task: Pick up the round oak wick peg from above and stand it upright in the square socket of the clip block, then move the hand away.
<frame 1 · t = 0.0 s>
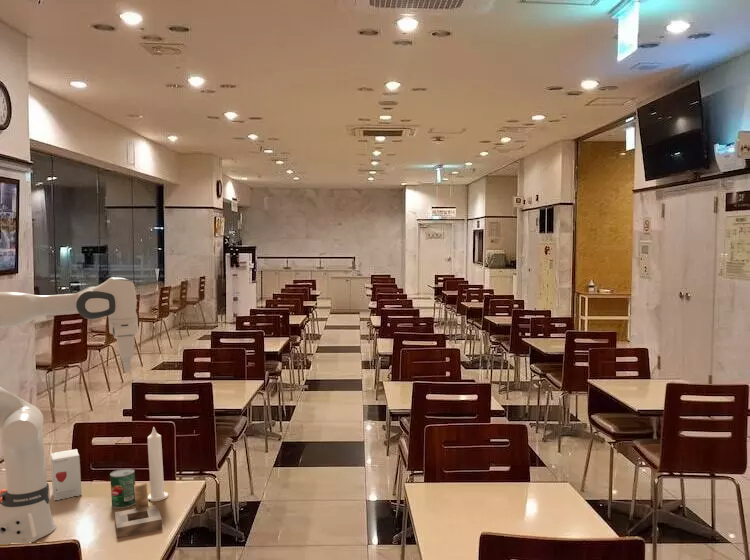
hand: (126, 369, 216), 48 cm above the table, tool pointing down, fingers open, 8 cm apart
supplement box: (67, 495, 237), on the table
canned tomato: (124, 504, 227), on the table
candle: (157, 497, 231), on the table
wick peg: (142, 511, 220), on the table
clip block: (138, 525, 209), on the table
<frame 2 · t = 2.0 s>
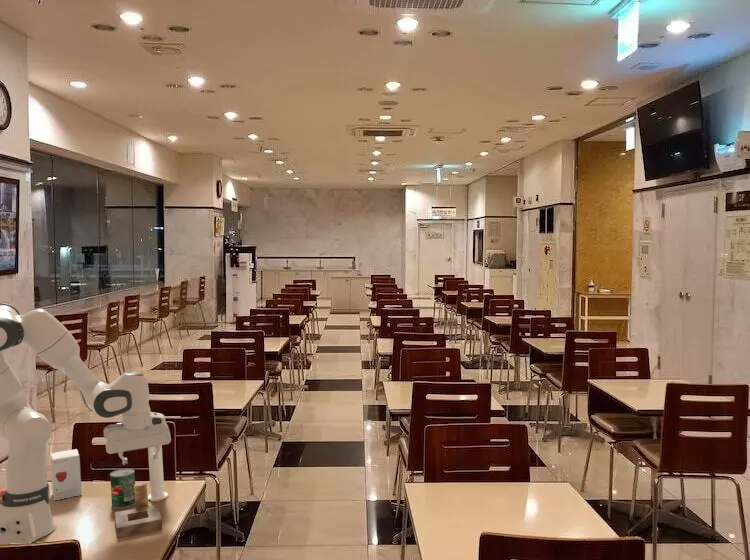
hand: (140, 461, 219), 17 cm above the table, tool pointing down, fingers open, 8 cm apart
nothing on the table moved.
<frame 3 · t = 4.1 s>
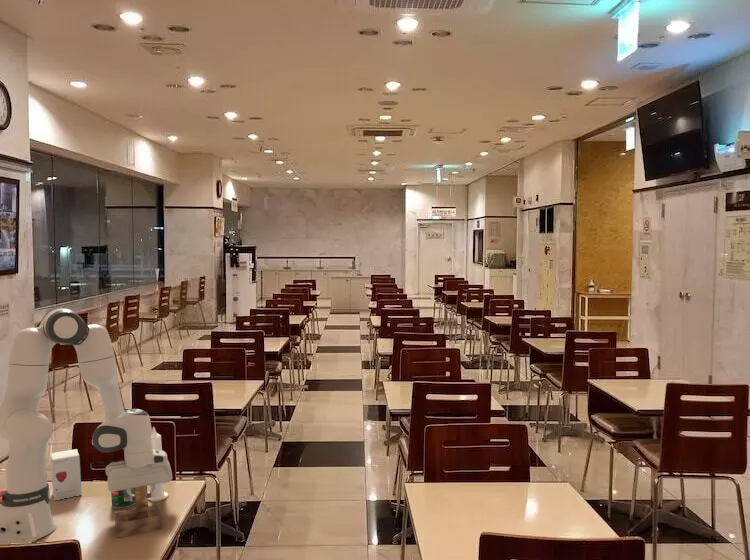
hand: (141, 499, 219), 4 cm above the table, tool pointing down, fingers closed on wick peg, 4 cm apart
wick peg: (142, 511, 220), on the table, touching gripper
everything else where it was.
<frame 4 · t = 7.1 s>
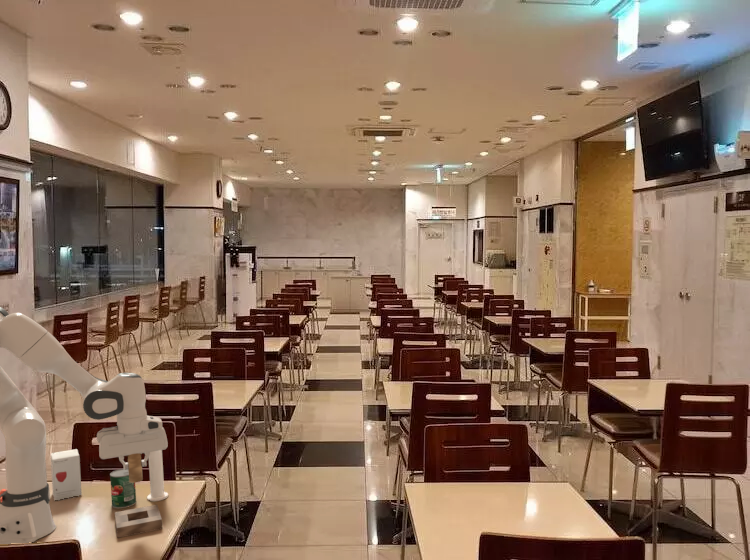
hand: (135, 467, 208), 19 cm above the table, tool pointing down, fingers closed on wick peg, 4 cm apart
wick peg: (135, 480, 208), point 14 cm above the table, touching gripper
everything else where it was.
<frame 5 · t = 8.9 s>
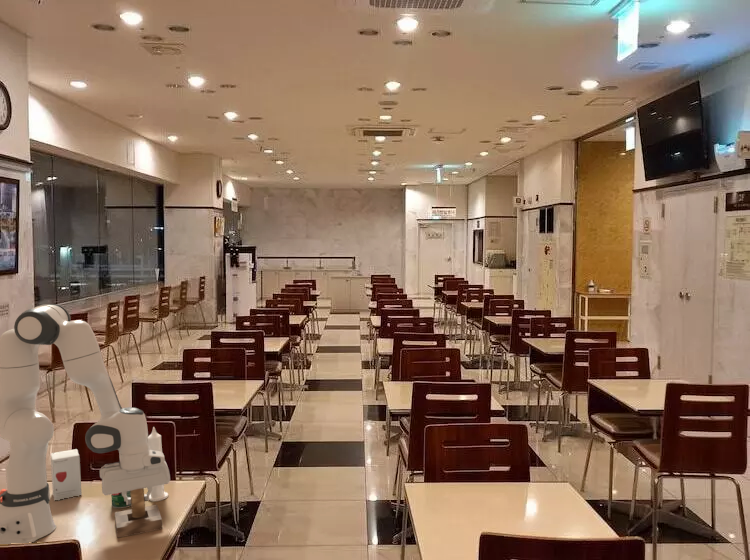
hand: (137, 502, 208), 7 cm above the table, tool pointing down, fingers closed on wick peg, 4 cm apart
wick peg: (138, 514, 209), point 3 cm above the table, touching gripper
everything else where it was.
when the fingers open (6 cm above the table, at t = 10.1 s): wick peg drops 1 cm, resting in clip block.
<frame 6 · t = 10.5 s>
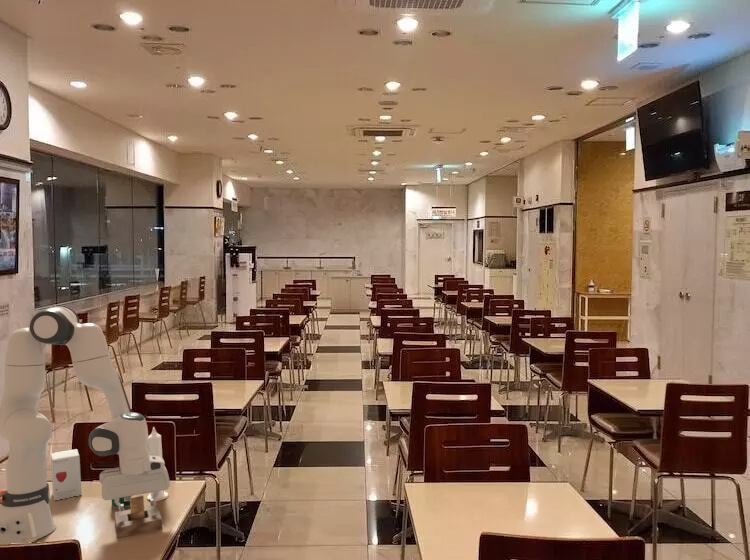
hand: (137, 507, 208), 6 cm above the table, tool pointing down, fingers open, 8 cm apart
wick peg: (138, 524, 209), resting in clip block
everything else where it was.
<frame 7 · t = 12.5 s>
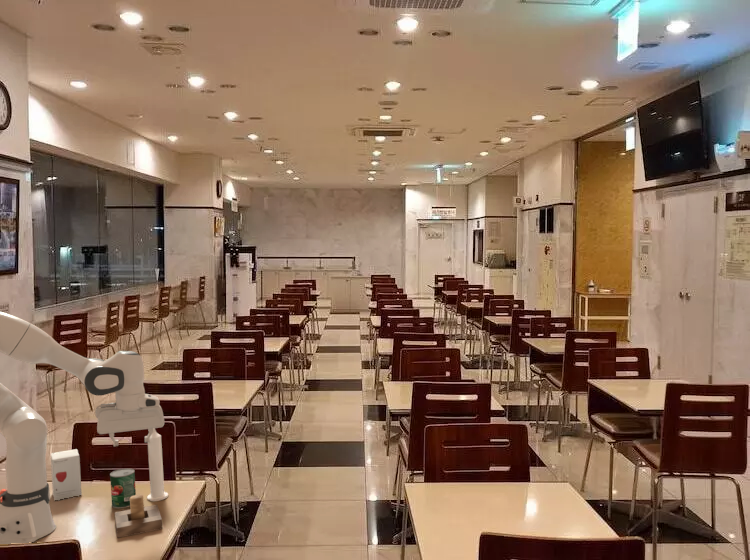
hand: (131, 444, 212), 25 cm above the table, tool pointing down, fingers open, 8 cm apart
nothing on the table moved.
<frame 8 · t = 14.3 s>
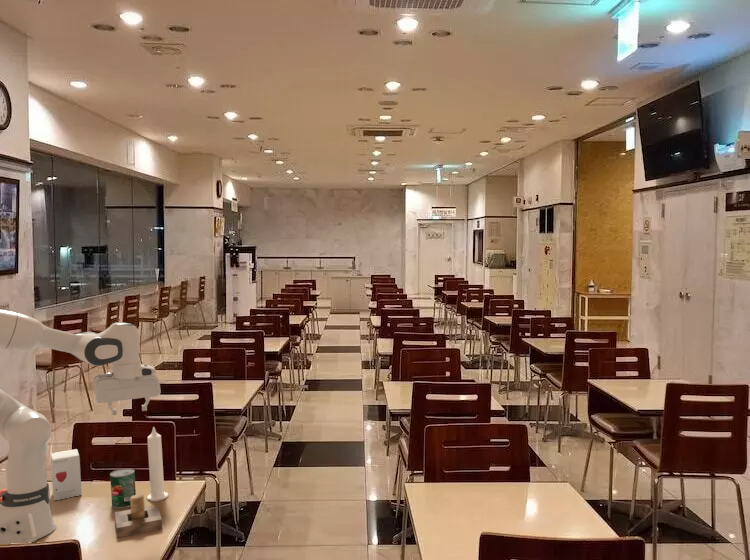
hand: (129, 412, 218), 33 cm above the table, tool pointing down, fingers open, 8 cm apart
nothing on the table moved.
at the end: wick peg 0.1 cm off-centre on the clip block, point 0.0 cm above the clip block's base; wick peg tilted 1°; the gripper is holding nothing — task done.
